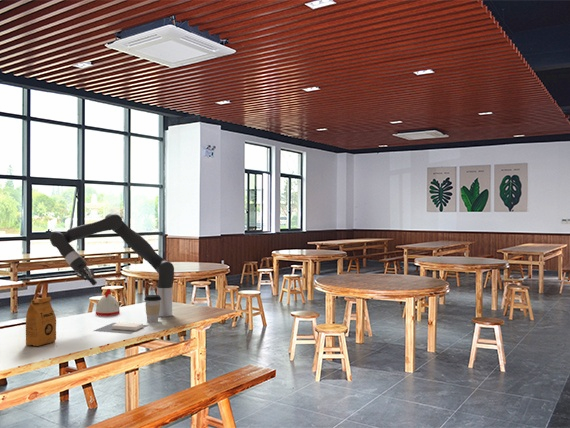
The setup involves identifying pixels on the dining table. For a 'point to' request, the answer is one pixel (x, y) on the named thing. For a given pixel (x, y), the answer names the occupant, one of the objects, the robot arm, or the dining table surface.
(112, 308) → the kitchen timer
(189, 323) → the dining table surface
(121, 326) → the tile
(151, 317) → the coffee cup
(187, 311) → the dining table surface
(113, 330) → the mat
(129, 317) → the dining table surface
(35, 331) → the coffee package
